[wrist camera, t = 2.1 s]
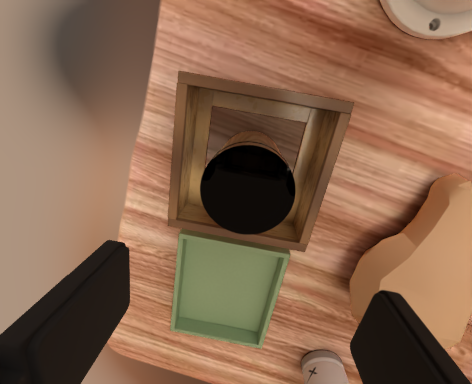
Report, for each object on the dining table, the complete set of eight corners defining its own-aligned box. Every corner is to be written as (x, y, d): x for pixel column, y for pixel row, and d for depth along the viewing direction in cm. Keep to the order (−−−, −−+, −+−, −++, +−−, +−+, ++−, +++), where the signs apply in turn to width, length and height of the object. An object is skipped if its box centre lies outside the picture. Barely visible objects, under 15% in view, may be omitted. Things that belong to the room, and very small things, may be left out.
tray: (185, 222, 29) (178, 233, 26) (287, 241, 29) (290, 254, 26) (176, 314, 35) (170, 330, 32) (261, 330, 35) (261, 349, 32)
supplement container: (209, 148, 26) (180, 175, 16) (262, 117, 24) (267, 124, 14) (239, 197, 27) (230, 248, 18) (290, 171, 26) (312, 211, 16)
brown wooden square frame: (193, 77, 23) (177, 70, 18) (335, 103, 23) (355, 102, 18) (181, 206, 28) (167, 225, 24) (297, 228, 28) (305, 252, 23)
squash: (324, 293, 32) (339, 347, 23) (396, 157, 27) (450, 160, 18) (402, 328, 30) (450, 399, 22) (493, 192, 26) (601, 212, 17)
